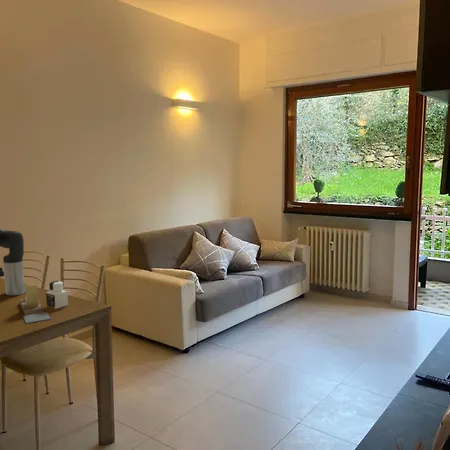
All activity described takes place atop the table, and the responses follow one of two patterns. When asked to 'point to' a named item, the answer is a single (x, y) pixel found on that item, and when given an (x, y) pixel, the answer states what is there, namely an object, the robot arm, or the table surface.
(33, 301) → the tan wooden block
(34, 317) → the rubber mat
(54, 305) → the medicine bottle
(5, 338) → the table surface
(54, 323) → the table surface
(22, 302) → the plane base
